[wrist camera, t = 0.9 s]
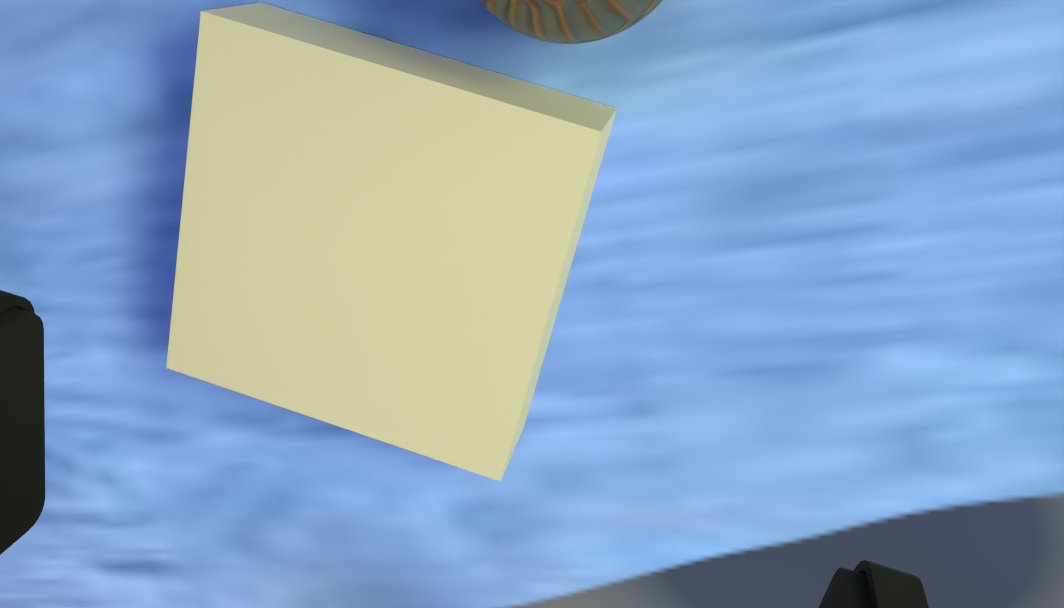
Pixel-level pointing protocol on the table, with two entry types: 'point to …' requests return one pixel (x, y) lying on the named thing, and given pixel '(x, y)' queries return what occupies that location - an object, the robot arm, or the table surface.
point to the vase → (570, 17)
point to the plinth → (376, 231)
